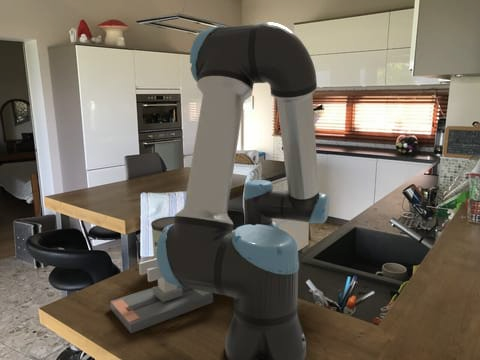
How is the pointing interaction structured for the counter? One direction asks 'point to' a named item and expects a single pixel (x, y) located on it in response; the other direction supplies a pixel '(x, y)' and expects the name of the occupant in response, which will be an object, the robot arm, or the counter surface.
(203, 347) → the counter surface
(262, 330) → the robot arm
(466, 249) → the counter surface
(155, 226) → the coffee can
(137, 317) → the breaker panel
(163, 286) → the handle
